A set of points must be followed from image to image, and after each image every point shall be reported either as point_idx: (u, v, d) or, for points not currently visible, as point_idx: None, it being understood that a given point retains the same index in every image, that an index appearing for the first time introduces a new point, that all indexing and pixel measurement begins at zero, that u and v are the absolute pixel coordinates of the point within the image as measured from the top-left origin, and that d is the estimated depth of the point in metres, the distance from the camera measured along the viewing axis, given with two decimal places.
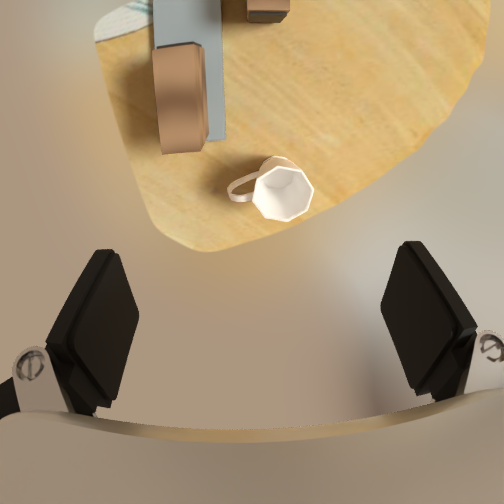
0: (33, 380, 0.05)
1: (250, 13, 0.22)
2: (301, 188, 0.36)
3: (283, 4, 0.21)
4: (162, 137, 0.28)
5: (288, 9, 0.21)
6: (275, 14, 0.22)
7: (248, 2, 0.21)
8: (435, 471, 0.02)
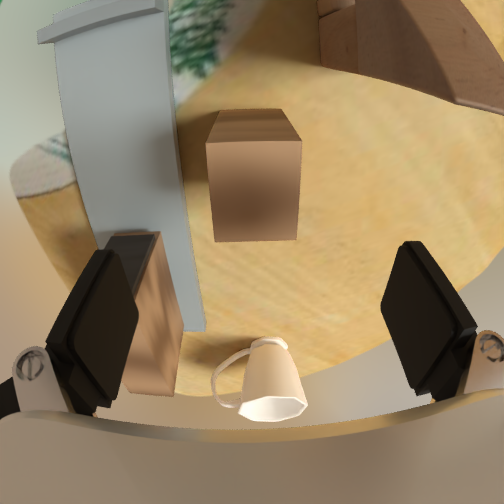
0: (33, 380, 0.05)
1: None
2: None
3: (284, 229, 0.15)
4: (125, 383, 0.21)
5: (293, 238, 0.15)
6: None
7: (215, 227, 0.14)
8: (435, 471, 0.02)
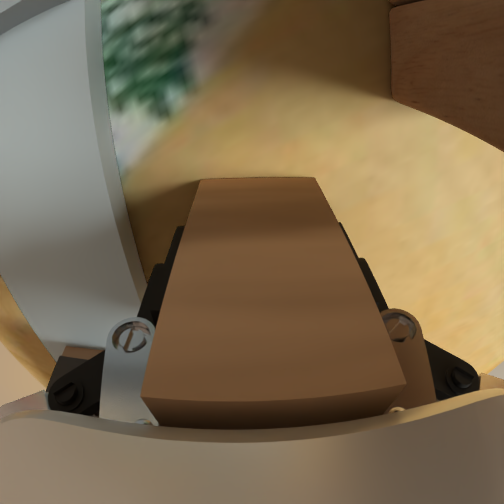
0: (128, 353, 0.06)
1: None
2: None
3: None
4: None
5: None
6: None
7: None
8: (435, 471, 0.02)
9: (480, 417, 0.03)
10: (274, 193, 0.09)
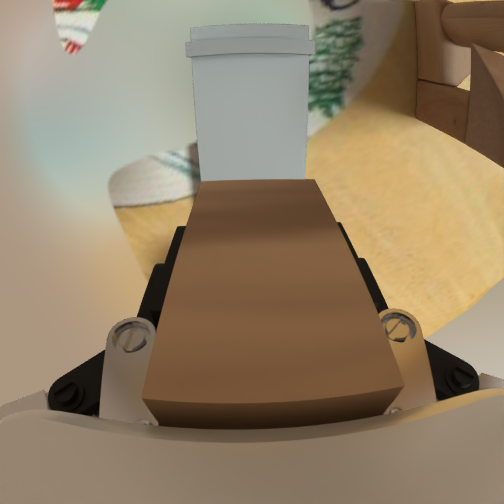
0: (129, 353, 0.06)
1: None
2: None
3: None
4: None
5: None
6: None
7: None
8: (435, 471, 0.02)
9: (480, 417, 0.03)
10: (274, 195, 0.09)
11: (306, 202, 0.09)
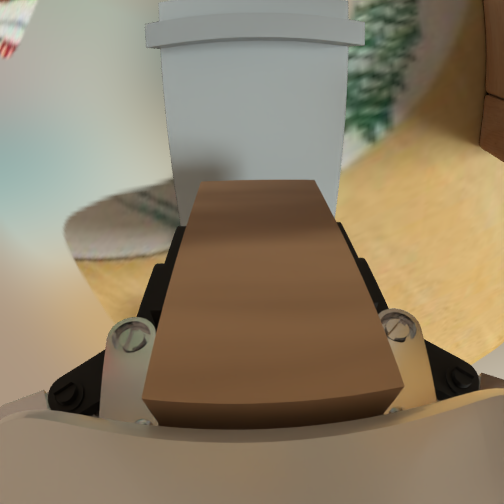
0: (129, 353, 0.06)
1: None
2: None
3: None
4: None
5: None
6: None
7: None
8: (435, 471, 0.02)
9: (480, 417, 0.03)
10: (274, 195, 0.09)
11: (306, 202, 0.09)
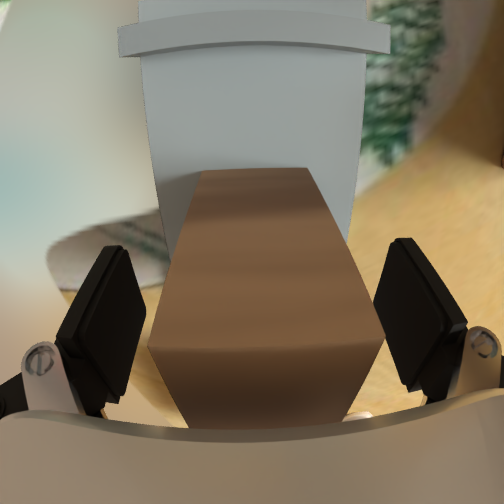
0: (42, 375, 0.05)
1: None
2: None
3: None
4: None
5: None
6: None
7: None
8: (435, 471, 0.02)
9: (480, 417, 0.03)
10: (269, 181, 0.10)
11: (298, 186, 0.10)
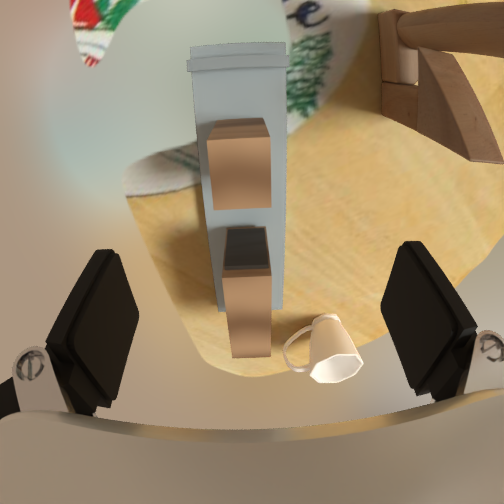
0: (33, 380, 0.05)
1: None
2: None
3: (262, 199, 0.21)
4: (233, 347, 0.30)
5: (269, 206, 0.21)
6: None
7: (214, 199, 0.20)
8: (435, 471, 0.02)
9: (480, 417, 0.03)
10: (245, 120, 0.24)
11: (256, 121, 0.23)
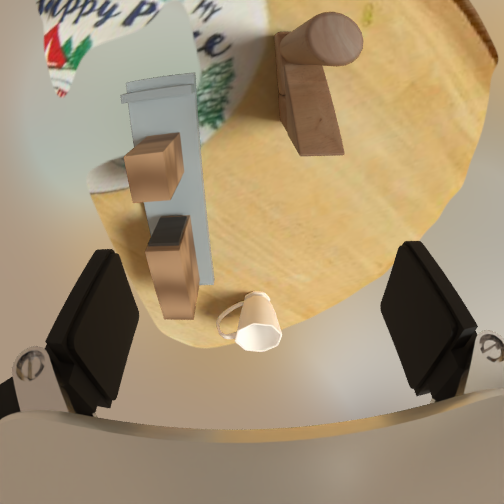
0: (33, 380, 0.05)
1: None
2: None
3: (163, 194, 0.28)
4: (163, 309, 0.38)
5: (168, 199, 0.29)
6: None
7: (132, 195, 0.28)
8: (435, 471, 0.02)
9: (480, 417, 0.03)
10: (164, 136, 0.31)
11: (171, 136, 0.31)
